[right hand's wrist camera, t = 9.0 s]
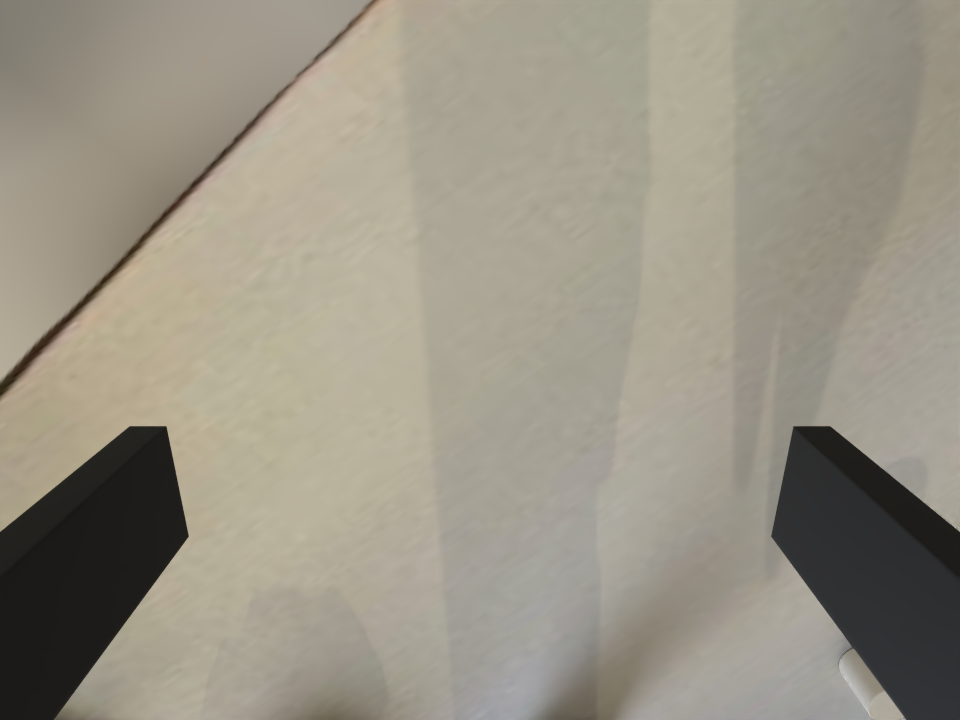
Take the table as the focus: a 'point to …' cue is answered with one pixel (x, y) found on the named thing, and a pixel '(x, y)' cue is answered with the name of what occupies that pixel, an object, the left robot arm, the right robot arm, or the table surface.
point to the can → (867, 688)
